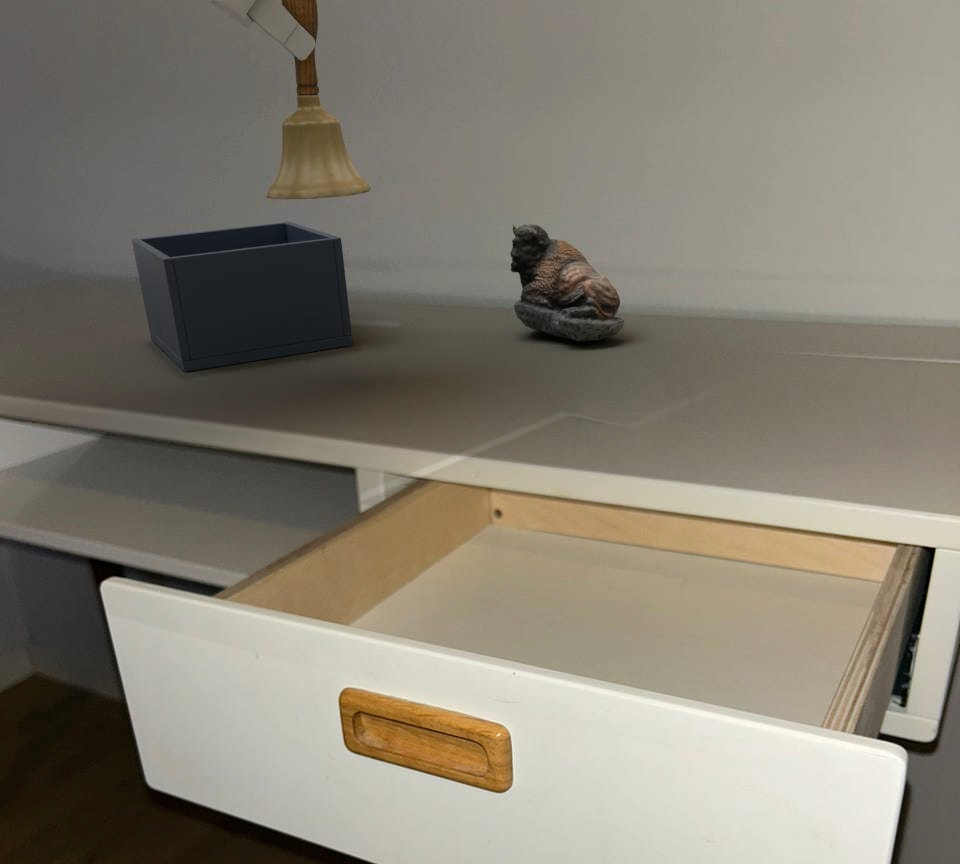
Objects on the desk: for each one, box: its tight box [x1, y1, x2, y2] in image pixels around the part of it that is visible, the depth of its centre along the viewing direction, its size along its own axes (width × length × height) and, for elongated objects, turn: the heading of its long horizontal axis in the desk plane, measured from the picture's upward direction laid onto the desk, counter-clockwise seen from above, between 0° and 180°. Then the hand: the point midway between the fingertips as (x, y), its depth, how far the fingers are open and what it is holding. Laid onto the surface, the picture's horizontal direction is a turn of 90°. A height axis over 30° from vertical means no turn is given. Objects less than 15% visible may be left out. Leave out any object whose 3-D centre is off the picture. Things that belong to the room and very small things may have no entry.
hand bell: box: [265, 0, 372, 201], centre depth 81 cm, size 8×8×16 cm
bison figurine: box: [509, 223, 625, 343], centre depth 100 cm, size 12×7×10 cm, turn 47°
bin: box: [131, 221, 354, 373], centre depth 106 cm, size 17×17×10 cm
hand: (310, 53), depth 80 cm, fingers closed on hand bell, 2 cm apart
